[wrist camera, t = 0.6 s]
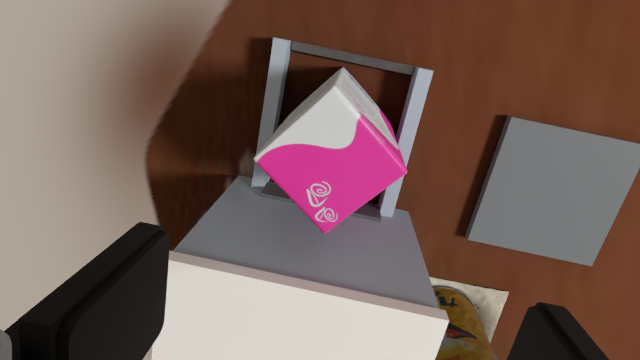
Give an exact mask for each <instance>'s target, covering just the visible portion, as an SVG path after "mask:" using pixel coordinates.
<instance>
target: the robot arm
mask: <svg viewBox="0 0 640 360" xmlns="http://www.w3.org/2000/svg"><path fill="white" fill-rule="evenodd" d="M169 249H170V234H169V233H164V228H163V227H162V226H158V225H153V224H148V223H142V222H139V223H138V224H136V225H135V226H134V227H132V228H131V229H130V230H129V231H128V232H126V233H125V234H124V235H123V236H121V237H120V238H119V239H118V240H116V241H115V242H114V243H113V244H111V245H110V246H109V247H108V248H106V249H105V250H104V251H103V252H101V253H100V254H99V255H98V256H96V257H95V258H94V259H93V260H92V261H90V262H89V263H88V264H86V265H85V266H84V267H83V268H81V269H80V270H79V271H78V272H77V273H76V274H74V275H73V276H72V277H71V278H69V279H68V280H67V281H65V282H64V283H63V284H62V285H60V286H59V287H58V288H57V289H55V290H54V291H53V292H52V293H50V294H49V295H48V296H47V297H45V298H44V299H43V300H42V301H40V302H39V303H38V304H37V305H36V306H34V307H33V308H32V309H31V310H30V311H28V312H27V313H26V314H24V315H23V316H22V317H21V318H19V319H18V321H16V322H15V323H14V324H13V325H11V326H10V327H9V328H8V329H7V330H5V331H2V330H0V360H142V359H143V358H144V356H145V355H146V353H147V352H148V350H149V349H150V348H151V346H152V345H153V343H154V342H155V340H156V339H157V337H158V336H159V334H160V332H161V330H162V327H163V324H164V318H165V304H166V291H167V277H168V263H169ZM507 360H609V359H608V358H607V357H606V355H605V354H604V353H603V352H602V351H601V349H600V348H599V347H598V346H597V345H596V343H595V342H594V341H593V340H592V339H591V337H590V336H589V335H588V334H587V333H586V331H585V330H584V329H583V328H582V327H581V326H580V324H579V323H578V322H577V321H576V320H575V318H574V317H573V316H572V315H571V314H570V312H569V311H568V310H567V309H566V308H565V307H562V306H557V305H552V304H547V303H542V302H539V303H537V304H536V305H535V306H534V307H533V306H532V307H529V308H528V310H527V312H526V314H525V317H524V319H523V322H522V324H521V326H520V329H519V331H518V334H517V336H516V339H515V341H514V344H513V346H512V348H511V351H510V353H509V356H508V358H507Z"/></svg>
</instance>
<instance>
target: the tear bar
mask: <svg viewBox="0 0 640 360" xmlns="http://www.w3.org/2000/svg"><path fill="white" fill-rule="evenodd" d="M291 50H295V51H299V52H304V53H309V54H314V55H319V56H323V57H328V58H333V59H338V60H342V61H347V62H352V63H357V64H361V65H366V66H371V67H376V68H381V69H385V70H390V71H395V72H400V73H404V74H409V75H412V74H413V70H414V66H410V65H406V64H401V63H396V62H391V61H387V60H382V59H377V58H372V57H368V56H363V55H358V54H353V53H348V52H344V51H339V50H334V49H329V48H325V47H320V46H315V45H310V44H305V43H301V42H296V41H292V46H291Z"/></svg>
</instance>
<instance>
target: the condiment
mask: <svg viewBox="0 0 640 360" xmlns="http://www.w3.org/2000/svg"><path fill="white" fill-rule="evenodd" d="M429 278H430V281H431V284H432V287H433V290H434V293H435V297H436V300H437V303H438V306H439V309H441V310H446V312H447V315H448V318H449V323H448V326H447V329H446V331H445V334H444V337H443V339H442V342H441V345H440V348H439V350H438V353H437V356H436V358H435V360H497V357H496V355H495V354H494V352H493V349H492V347H491V345H490V342H491V340H492V337H493V333H494V331H495V328H496V326H497V322H498V321H497V320H498V319H499V317H500V315H501V312H502V309H503V306H504V303H505V302H506V299H507V296H508V294H509V292H506V291H499V290H495V289H488V288H483V287H478V286H472V285H467V284H463V283H458V282H453V281H448V280H442V279H437V278H432V277H429ZM473 304H475V305H476V306H474V305H473ZM476 307H478V308H479V310H478V309H477V308H476Z"/></svg>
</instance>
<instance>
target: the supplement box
mask: <svg viewBox="0 0 640 360" xmlns="http://www.w3.org/2000/svg"><path fill="white" fill-rule="evenodd" d="M254 161H255V162H256V163H257V164H258V165H259V166H260V167H261V168H262V169H263V170H264V171H265V172H266V173H267V175H268V176H269V177H270V178H271V179H272V180H273V181H274V182H275V183H276V184H277V185H278V186H279V187H280V188H281V189H282V190H283V191H284V192H285V193H286V194H287V195H288V196H289V197H290V198H291V200H292V201H293V202H294V203H295V204H296V205H297V206H298V207H299V208H300V209H301V210H302V211H303V212H304V213H305V214H306V215H307V216H308V217H309V218H310V219H311V220H312V222H313V223H314V224H315V225H316V226H317V227H318V228H319V229H320V230H321V231H322V232H323V233H324V234H325V233H327V232H328V231H329V230H331V229H332V228H334V227H335V226H336V225H338V224H339V223H340V222H341V221H343V220H344V219H345V218H346V217H348V216H349V215H350V214H352V213H353V212H354V211H356V210H357V209H359V208H360V207H361V206H363V205H364V204H365V203H367V202H368V201H369V200H371V199H372V198H374V197H375V196H376V195H378V194H379V193H380V192H382V191H383V190H385V189H386V188H387V187H389V186H390V185H391V184H393V183H394V182H396V181H397V180H398V179H400V178H401V177H402V176H404V175H405V174H406V173H407V168H406V166H405V163H404V160H403V157H402V154H401V152H400V149H399V146H398V143H397V141H396V138H395V135H394V132H393V129H392V127H391V123H390V121H389V120H388V118H387V117H386V116H385V114H384V113H383V112H382V111H381V109H380V108H379V107H378V106H377V104H376V103H375V102H374V101H373V100H372V99H371V97H370V96H369V95H368V94H367V93H366V91H365V90H364V89H363V88H362V87H361V85H360V84H359V83H358V82H357V81H356V80H355V78H354V77H353V76H352V75H351V74H350V73H349V72H348V71H347V69H346V68H345V67H342V68H340V69H339V70H338V71H337V72H336V73H335V74H333V75H332V76H331V77H330V78H329V79H328V80H327V81H326V82H324V83H323V84H322V85H321V86H320V87H319V88H318V89H316V90H315V91H314V92H313V93H312V94H311V95H310V96H309V97H308V98H306V99H305V100H304V101H303V102H302V103H301V104H300V105H299V106H298V107H296V108H295V109H294V110H293V111H292V112H291V113H290V114H289V115H288V117H287V118H286V119H285V120H284V122H283V123H282V124H281V125H280V126H279V128H278V129H277V130H276V131H275V132H274V134H273V135H272V136H271V137H270V138H269V140H268V141H267V142H266V143H265V144H264V145H263V147H262V148H261V149H260V150H259V151H258V153H257V154H256V155H255V157H254Z"/></svg>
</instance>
